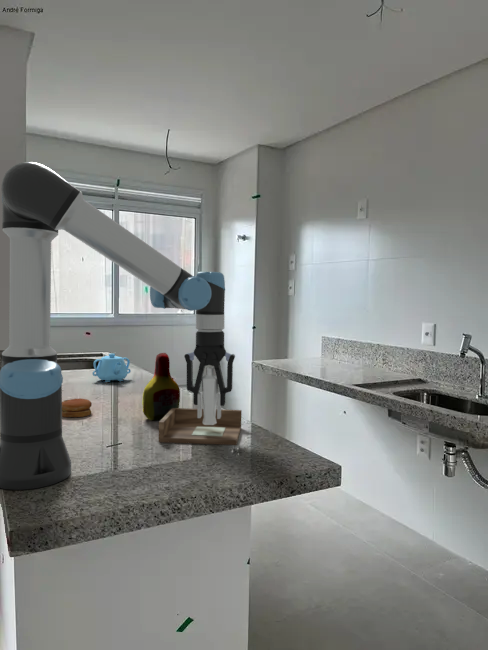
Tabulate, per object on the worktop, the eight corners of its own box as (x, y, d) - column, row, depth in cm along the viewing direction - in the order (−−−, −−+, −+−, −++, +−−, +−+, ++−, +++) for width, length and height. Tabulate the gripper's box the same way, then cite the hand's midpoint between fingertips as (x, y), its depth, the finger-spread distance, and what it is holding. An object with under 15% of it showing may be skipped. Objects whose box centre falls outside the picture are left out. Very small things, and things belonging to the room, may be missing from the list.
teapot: (86, 379, 216) (86, 352, 216) (123, 376, 225) (123, 350, 225) (99, 386, 200) (99, 357, 199) (139, 383, 208) (139, 355, 208)
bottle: (176, 413, 156) (176, 351, 155) (183, 418, 150) (184, 353, 149) (139, 418, 150) (139, 352, 149) (145, 423, 144) (146, 355, 143)
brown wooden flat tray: (236, 445, 125) (236, 424, 124) (158, 442, 126) (158, 422, 126) (241, 428, 140) (241, 410, 140) (172, 425, 142) (172, 407, 142)
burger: (92, 417, 151) (92, 402, 150) (59, 419, 148) (59, 404, 147) (91, 410, 160) (91, 396, 160) (60, 412, 157) (60, 397, 157)
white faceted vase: (219, 425, 130) (220, 368, 129) (203, 426, 129) (204, 369, 128) (216, 420, 135) (216, 366, 134) (200, 421, 134) (200, 366, 133)
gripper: (244, 330, 133) (243, 414, 135) (180, 328, 135) (179, 412, 136) (242, 332, 126) (241, 421, 127) (174, 330, 127) (173, 419, 129)
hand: (209, 417), depth 132 cm, fingers closed on white faceted vase, 5 cm apart
